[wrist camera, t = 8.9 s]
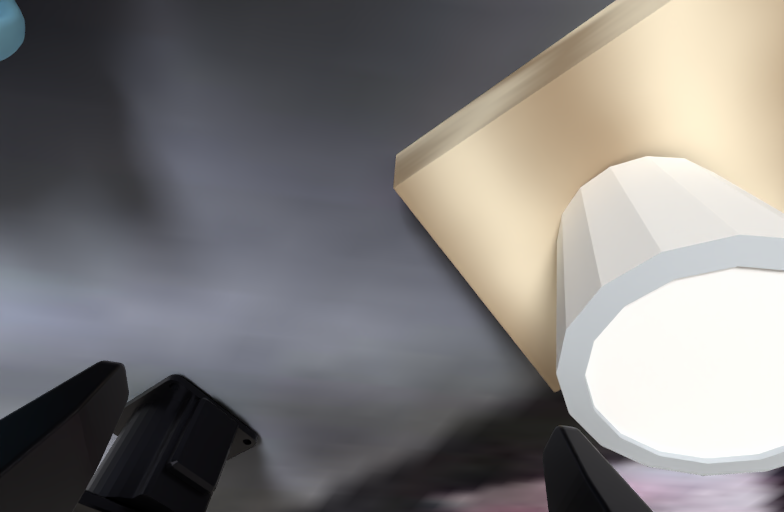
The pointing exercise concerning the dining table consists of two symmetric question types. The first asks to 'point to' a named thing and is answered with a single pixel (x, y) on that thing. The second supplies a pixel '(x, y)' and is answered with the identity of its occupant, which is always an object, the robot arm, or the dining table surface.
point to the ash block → (596, 141)
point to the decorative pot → (10, 28)
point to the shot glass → (673, 318)
